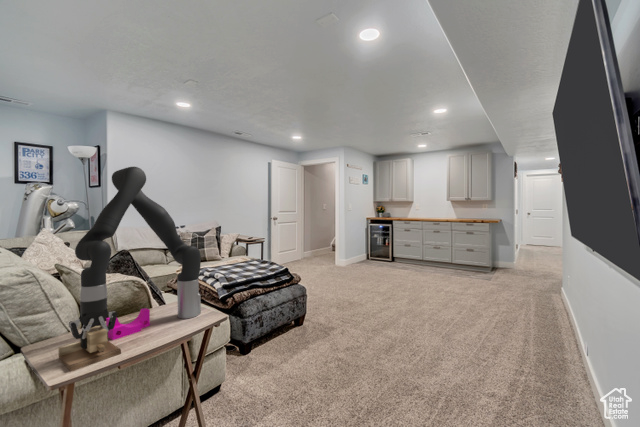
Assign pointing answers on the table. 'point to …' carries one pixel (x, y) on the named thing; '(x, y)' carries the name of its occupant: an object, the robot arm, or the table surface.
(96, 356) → the board
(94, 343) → the beige rectangular block
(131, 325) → the toy block
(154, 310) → the table surface
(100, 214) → the robot arm
